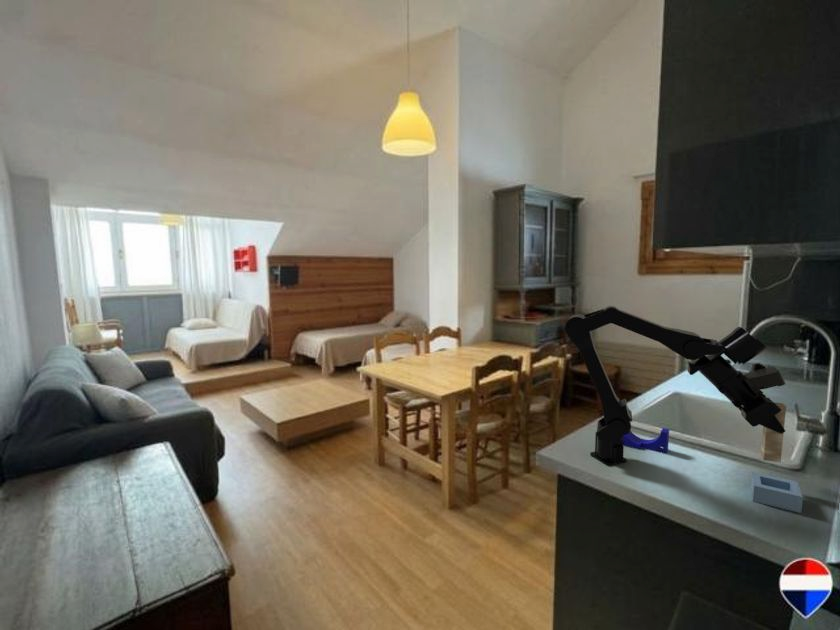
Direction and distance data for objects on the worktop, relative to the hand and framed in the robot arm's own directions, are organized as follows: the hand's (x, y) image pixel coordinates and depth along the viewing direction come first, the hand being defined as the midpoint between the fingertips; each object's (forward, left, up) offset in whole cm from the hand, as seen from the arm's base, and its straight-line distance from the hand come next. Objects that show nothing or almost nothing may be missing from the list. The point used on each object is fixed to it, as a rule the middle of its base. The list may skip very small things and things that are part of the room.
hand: (781, 430), depth 89 cm
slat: (-1, -1, -7) cm, 7 cm away
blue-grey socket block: (+3, -5, -13) cm, 15 cm away
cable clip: (-26, -11, -14) cm, 32 cm away
